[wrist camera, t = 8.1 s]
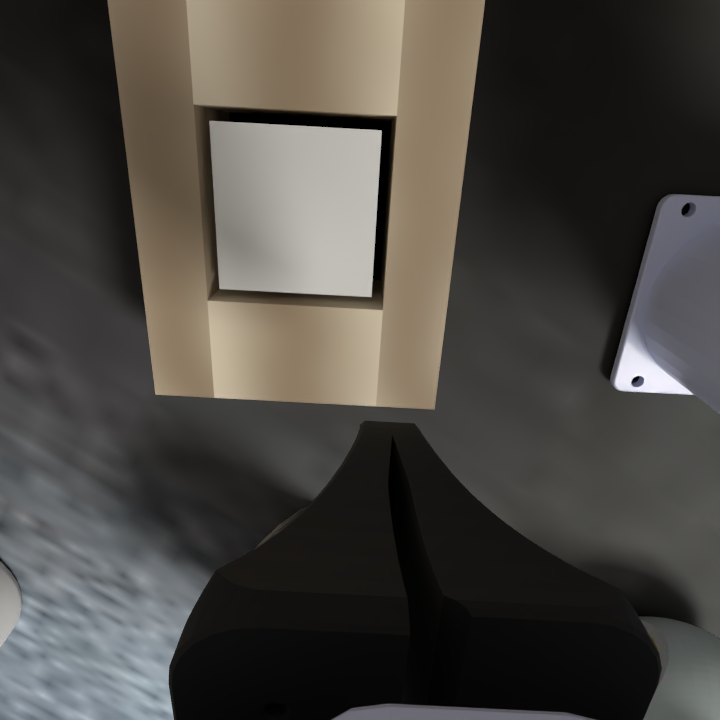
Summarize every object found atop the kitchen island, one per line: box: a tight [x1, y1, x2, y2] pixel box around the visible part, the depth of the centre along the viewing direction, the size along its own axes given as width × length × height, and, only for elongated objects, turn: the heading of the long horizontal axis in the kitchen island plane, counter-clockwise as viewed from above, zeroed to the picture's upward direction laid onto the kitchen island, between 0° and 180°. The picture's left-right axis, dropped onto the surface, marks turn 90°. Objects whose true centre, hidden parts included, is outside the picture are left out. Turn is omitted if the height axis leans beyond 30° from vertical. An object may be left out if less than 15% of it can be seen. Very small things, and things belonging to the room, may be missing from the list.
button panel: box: [108, 0, 485, 409], centre depth 15 cm, size 10×23×4 cm, turn 177°
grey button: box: [209, 121, 382, 297], centre depth 17 cm, size 5×5×3 cm
